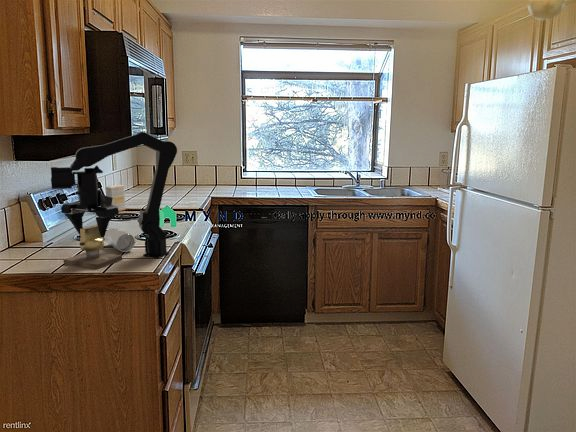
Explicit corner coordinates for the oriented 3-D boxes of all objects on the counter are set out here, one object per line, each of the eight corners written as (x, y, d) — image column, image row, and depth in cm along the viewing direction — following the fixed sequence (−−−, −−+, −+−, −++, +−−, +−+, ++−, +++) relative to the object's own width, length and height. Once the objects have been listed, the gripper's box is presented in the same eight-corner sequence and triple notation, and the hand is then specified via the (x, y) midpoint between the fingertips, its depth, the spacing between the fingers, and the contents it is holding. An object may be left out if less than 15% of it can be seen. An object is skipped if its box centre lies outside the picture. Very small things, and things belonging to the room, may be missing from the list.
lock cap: (92, 244, 154) (90, 223, 153) (108, 246, 152) (107, 225, 150) (72, 250, 147) (70, 228, 146) (89, 252, 144) (87, 230, 143)
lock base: (122, 259, 153) (121, 246, 152) (97, 269, 143) (96, 255, 142) (89, 255, 158) (88, 242, 158) (63, 263, 148) (62, 250, 147)
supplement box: (119, 209, 246) (118, 184, 243) (126, 210, 244) (124, 185, 241) (106, 211, 239) (105, 186, 237) (113, 212, 237) (111, 187, 234)
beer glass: (124, 239, 176) (138, 246, 165) (108, 248, 173) (121, 256, 161) (116, 223, 174) (130, 229, 162) (99, 232, 170) (112, 239, 159)
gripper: (129, 186, 150) (131, 232, 153) (85, 183, 157) (88, 228, 160) (103, 190, 140) (107, 240, 143) (57, 187, 147) (62, 235, 150)
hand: (91, 235), depth 149 cm, fingers open, 9 cm apart
